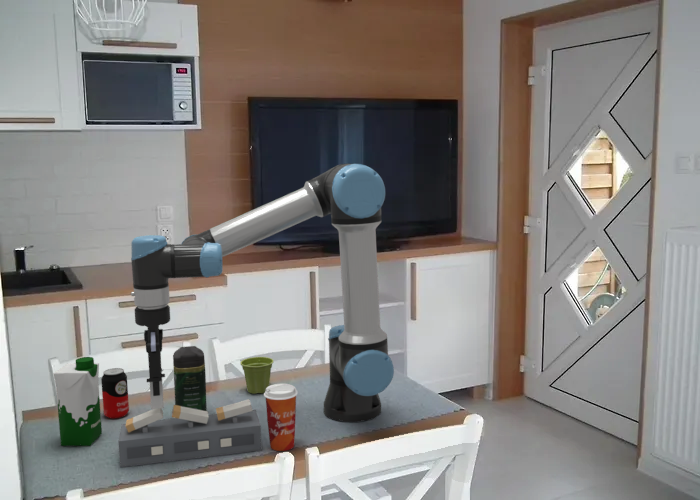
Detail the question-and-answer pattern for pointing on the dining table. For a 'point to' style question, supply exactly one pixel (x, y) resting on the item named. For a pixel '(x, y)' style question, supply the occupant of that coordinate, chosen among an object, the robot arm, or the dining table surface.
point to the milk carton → (78, 402)
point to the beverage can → (115, 393)
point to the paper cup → (281, 415)
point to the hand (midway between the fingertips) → (157, 407)
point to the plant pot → (257, 373)
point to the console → (189, 439)
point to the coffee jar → (190, 378)
